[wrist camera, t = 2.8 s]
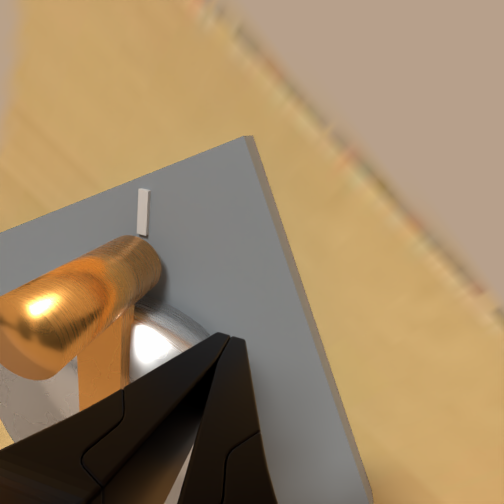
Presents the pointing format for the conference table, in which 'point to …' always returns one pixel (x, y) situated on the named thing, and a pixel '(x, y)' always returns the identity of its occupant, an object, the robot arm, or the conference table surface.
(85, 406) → the dial
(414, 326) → the conference table surface
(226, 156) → the dial plate
